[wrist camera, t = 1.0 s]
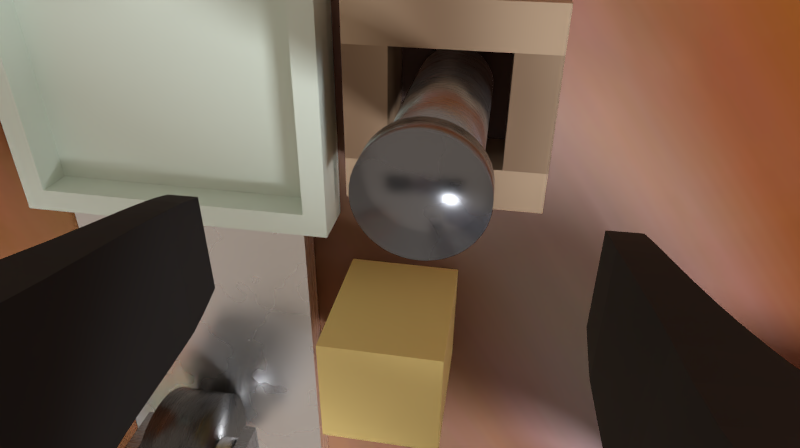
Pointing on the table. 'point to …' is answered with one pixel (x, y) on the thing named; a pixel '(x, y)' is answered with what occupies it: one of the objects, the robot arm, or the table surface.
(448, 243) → the pin
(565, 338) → the table surface
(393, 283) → the pale yellow cube
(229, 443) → the trolley wheel
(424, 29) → the socket
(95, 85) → the tray
